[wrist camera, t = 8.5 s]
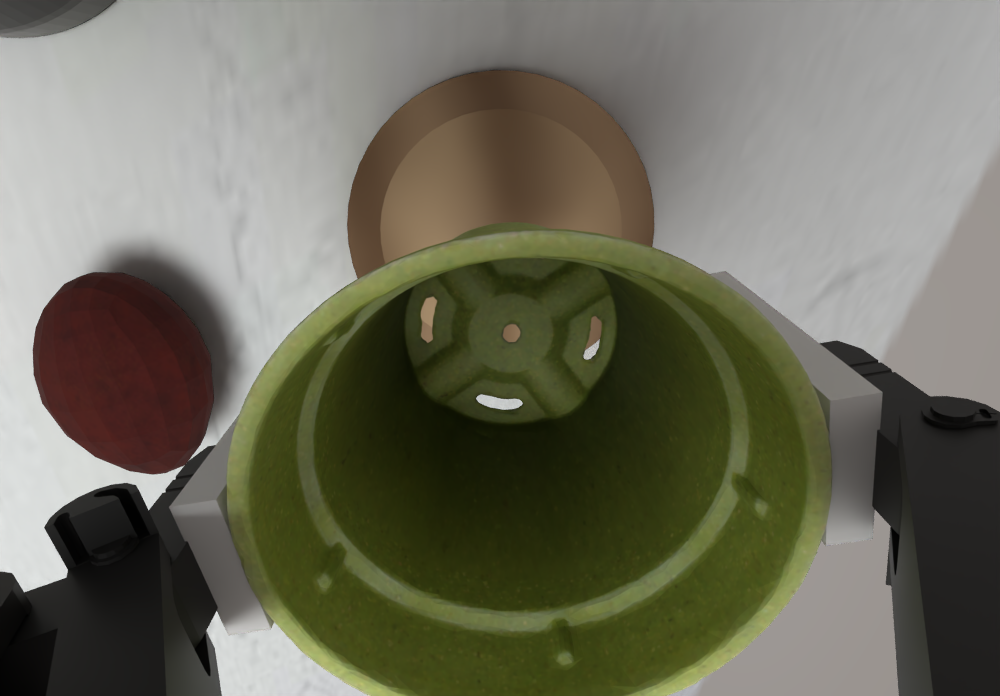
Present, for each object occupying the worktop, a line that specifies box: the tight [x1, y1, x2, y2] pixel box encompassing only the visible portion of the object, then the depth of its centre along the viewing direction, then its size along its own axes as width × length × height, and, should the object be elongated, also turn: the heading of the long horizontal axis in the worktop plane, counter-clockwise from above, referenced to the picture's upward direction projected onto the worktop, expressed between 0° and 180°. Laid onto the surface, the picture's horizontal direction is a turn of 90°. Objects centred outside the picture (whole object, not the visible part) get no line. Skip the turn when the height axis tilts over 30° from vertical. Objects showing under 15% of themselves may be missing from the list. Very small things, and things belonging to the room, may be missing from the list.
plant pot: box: [226, 222, 832, 696], centre depth 14 cm, size 9×9×9 cm
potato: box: [33, 272, 214, 474], centre depth 29 cm, size 7×10×6 cm
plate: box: [347, 70, 654, 350], centre depth 29 cm, size 14×14×1 cm
